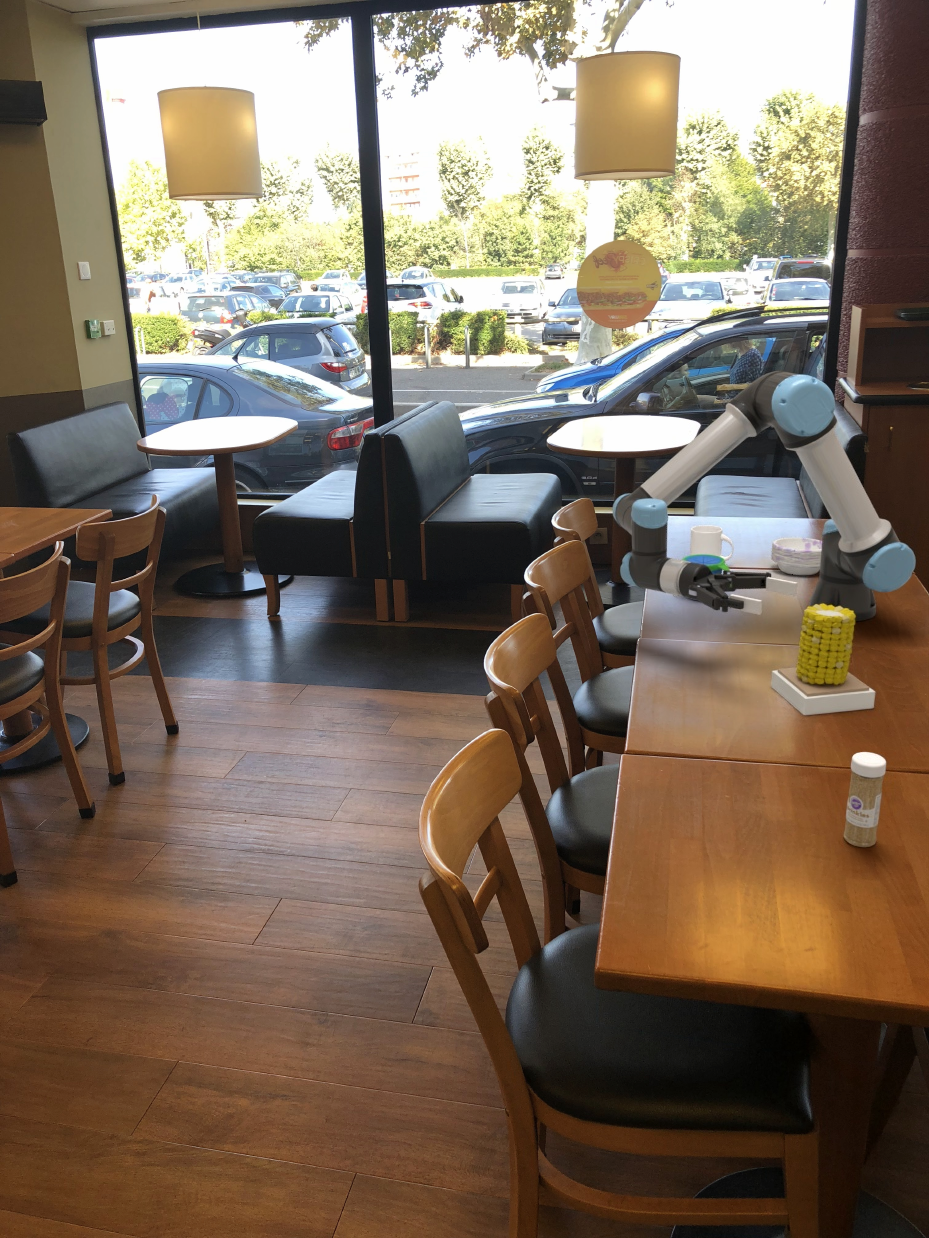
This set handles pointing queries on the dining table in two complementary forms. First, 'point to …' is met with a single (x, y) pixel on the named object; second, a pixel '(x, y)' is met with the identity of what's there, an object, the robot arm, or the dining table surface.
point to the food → (825, 644)
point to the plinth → (822, 693)
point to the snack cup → (709, 562)
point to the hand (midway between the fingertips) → (779, 598)
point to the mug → (708, 541)
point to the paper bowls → (797, 555)
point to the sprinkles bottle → (864, 799)
